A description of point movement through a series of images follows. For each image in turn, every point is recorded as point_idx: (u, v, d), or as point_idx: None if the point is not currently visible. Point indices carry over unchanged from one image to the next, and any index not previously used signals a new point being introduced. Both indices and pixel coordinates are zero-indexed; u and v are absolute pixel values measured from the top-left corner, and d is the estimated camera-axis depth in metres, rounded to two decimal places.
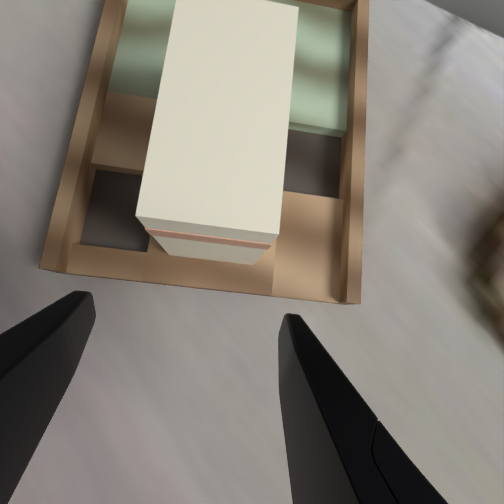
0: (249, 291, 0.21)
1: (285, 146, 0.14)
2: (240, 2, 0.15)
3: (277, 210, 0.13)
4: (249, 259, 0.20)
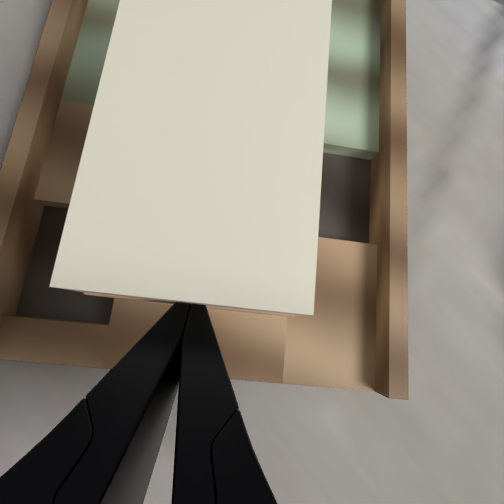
0: (251, 378, 0.15)
1: (320, 157, 0.08)
2: None
3: (309, 270, 0.07)
4: None
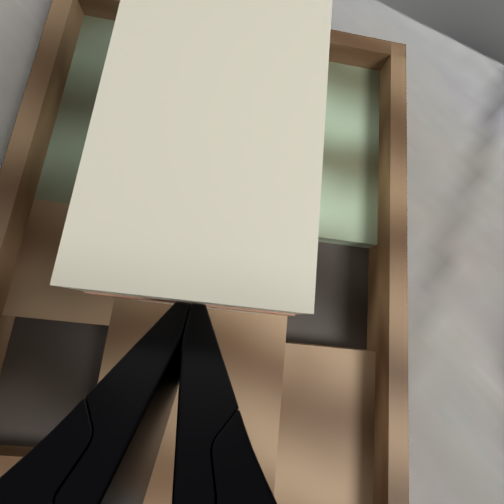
0: None
1: (321, 156, 0.08)
2: None
3: (310, 269, 0.07)
4: None
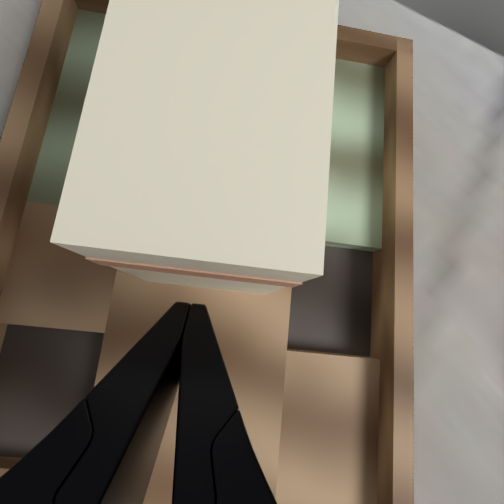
0: None
1: (330, 115, 0.08)
2: None
3: (319, 230, 0.07)
4: (259, 291, 0.14)
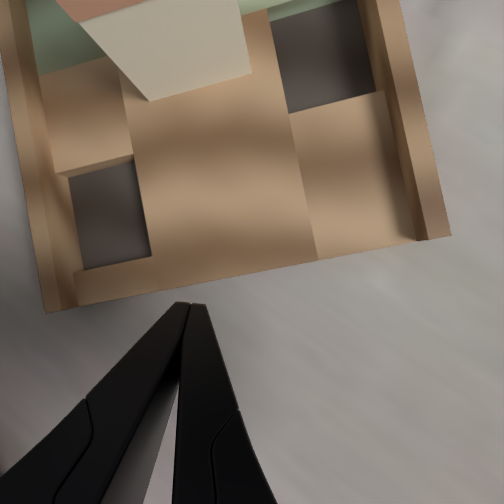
0: (288, 264, 0.16)
1: None
2: None
3: None
4: (235, 49, 0.14)
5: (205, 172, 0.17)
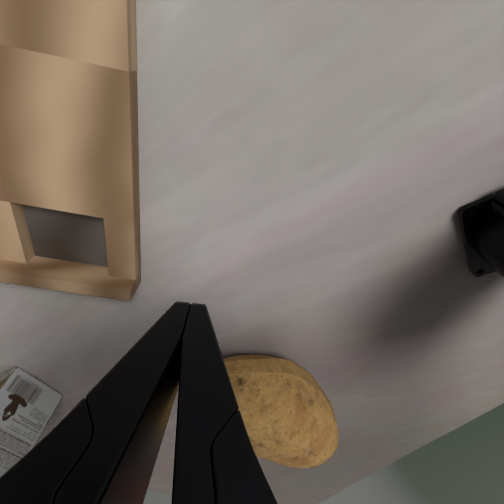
0: (128, 104, 0.16)
1: None
2: None
3: None
4: None
5: (29, 147, 0.18)
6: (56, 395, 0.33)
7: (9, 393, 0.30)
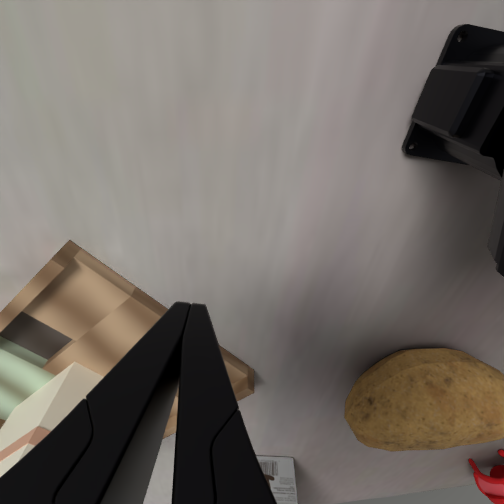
0: (146, 308, 0.25)
1: None
2: None
3: None
4: (68, 384, 0.27)
5: None
6: (288, 460, 0.42)
7: None
